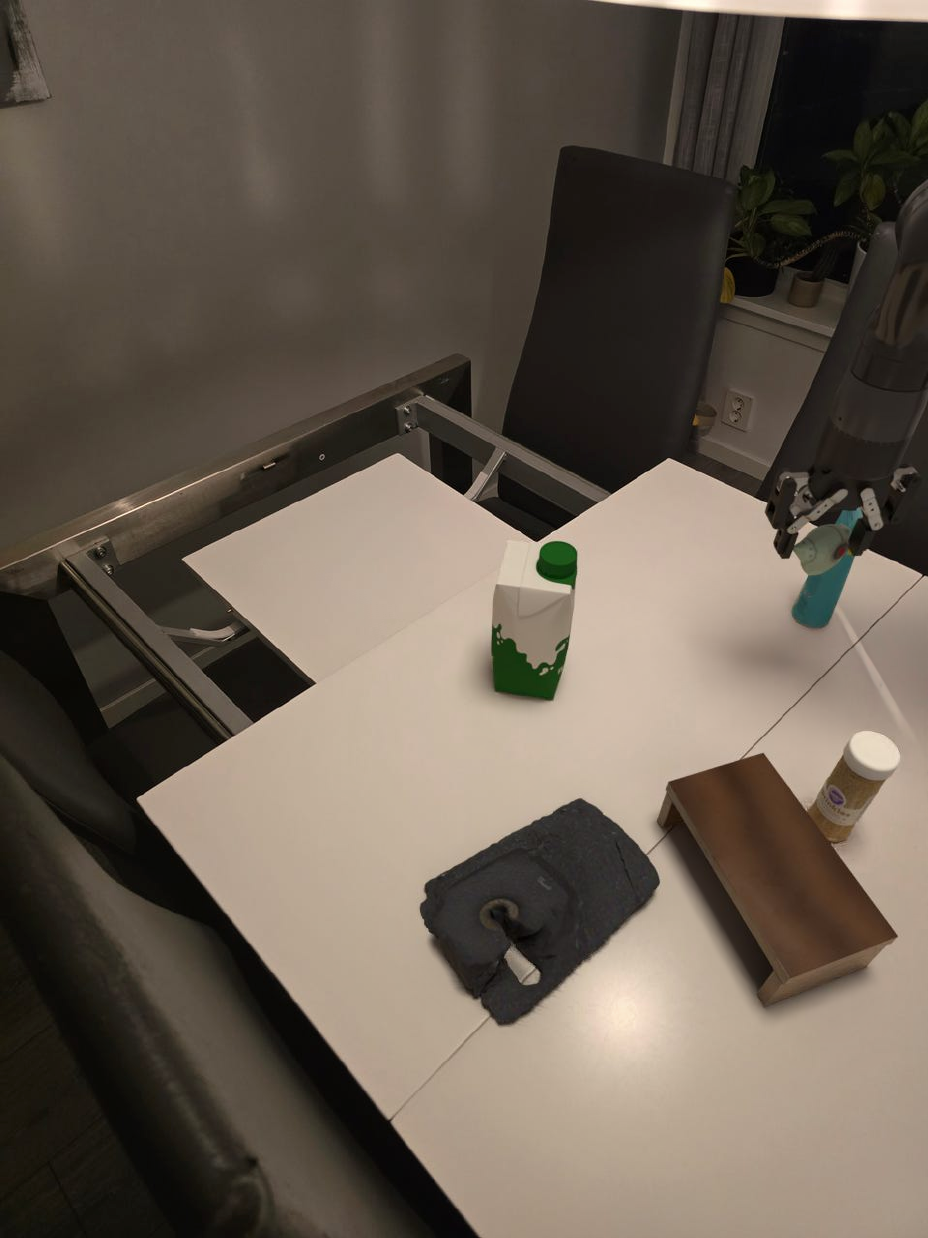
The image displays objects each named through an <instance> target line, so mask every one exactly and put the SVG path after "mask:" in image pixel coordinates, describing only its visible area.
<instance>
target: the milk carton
mask: <svg viewBox="0 0 928 1238" xmlns="http://www.w3.org/2000/svg"><path fill="white" fill-rule="evenodd" d="M578 555H579V554H578V548H577V547H575V546H574V545H573V544H571V543H569V542H566V541H563V540H562V541H561V540H552V541H548V542H546V543H542V542H539V541H529V542H528V541H521V540H514V539H507V541H506V545H505V549H504V552H503V556H502V560H501V564H500V568H499V571H498V575H497V579H496V583H495V587H494V591H493V595H492V614H491V641H490V656H491V667H492V677H493V686H494V692H496V693H497V692H498V693H504V694H509V695H515V696H516V695H517V696H520V697H521V696H523V697H529V698H534V699H542V700H547V701H554V699H555V695H556V692H557V689H558V685H559V682H560V680H561V676H562V674H563V670H564V667H565V664H566V659H567V655H568V651H569V647H570V638H571V632H572V624H573V619H574V618H573V617H574V610H575V600H576V588H577V585H576V584H577V576H578Z"/></svg>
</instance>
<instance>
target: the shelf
mask: <svg viewBox="0 0 928 1238" xmlns="http://www.w3.org/2000/svg"><path fill="white" fill-rule="evenodd" d="M662 801H663V802H662V805H661V808H660V810H659V813H658V816H657V818H656V822H657V823H658V824H659V827H660V828H661V830H666V829H668V828H671V827H675V826H678V825H681V824H684V823H685V825H686V826H687V828H688V829H689V831H690V833H691V834H692V836H693V838H694V839H695V841H696V843H697V844H698V846H699V848H700V850H701V851H702V853H703V855H704V856H705V858H706V859H707V861H708V863H709V864H710V866H711V868H712V869H713V871H714V872H715V875H716V877H717V878H718V880H719V881H720V883H721V885H722V886H723V888H724V889H725V892H727V894H728V896H729V898H730V899H731V900H732V903H733V905H734V906H735V907H736V910H738V913H739V914H740V916H741V917H742V919H743V921H744V922H745V924H746V926H747V928H748V929H749V931H750V932H751V933H752V935H753V937H754V939H755V941H756V943H757V945H758V946H759V947H760V949H761V950H762V952H763V954H764V956H765V957H766V959H767V960H768V962H769V964H770V965H771V967H772V969H773V970H772V972H771V973H770V975H769V976H768V977H767V979H766V980H765V981H764V983H763V984H762V985H761V987H760V988H759V990H758V991H757V993H756V995H757V996H758V999H759V1000H760V1002H761V1004H762V1005H763V1007H767V1006H769V1005H772V1004H775V1003H777V1002H780V1001H782V1000H785V999H787V998H790V997H791V996H795V995H797V994H800V993H802V992H806V991H808V990H810V989H813V988H816V987H818V986H821V985H823V984H825V983H828V982H831V981H833V980H835V979H838V978H841V977H843V976H845V975H848V974H851V973H854V972H856V971H858V970H861V969H863V968H866V967H868V966H869V965H870V964H871V962H872V961H874V959H875V958H876V957H877V956H878V955H879V954H880V953H881V952H882V951H883V949H885V948H886V946H889V945H892V944H893V943H894V942H895V941H896V940H897V939H898V938H899V935H898V934H897V932H896V931H895V930H894V928H893V927H892V926H891V924H890V923H889V921H888V920H887V919H886V917H885V916H884V915H883V913H882V912H881V910H880V909H879V908H878V906H877V905H876V904H875V902H874V901H873V900H872V898H871V897H870V896H869V894H868V893H867V892H866V890H865V889H864V887H863V885H861V884H860V882H859V881H858V879H857V878H856V877H855V875H854V873H852V871H851V870H850V868H849V867H848V865H847V864H846V863H845V862H844V860H843V859H842V857H841V856H840V854H839V853H838V852H837V851H836V849H835V847H834V846H833V845H832V844H831V842H830V841H828V840H827V838H826V837H825V836H824V834H823V833H822V832H821V830H820V829H819V828H818V826H817V825H816V824H815V822H814V821H813V819H812V818H811V817H810V815H809V814H808V813H807V811H808V810H806V808H805V807H804V806H803V804H802V803H801V802H800V800H799V799H798V797H797V796H796V795H795V793H794V792H793V790H792V789H791V788H790V787H789V785H788V784H787V783H786V781H785V779H783V777H782V776H781V774H780V773H779V772H778V770H777V769H776V768H775V766H774V765H773V764H772V762H771V761H770V759H769V758H768V757H767V755H766V754H765V753H764V752H760V753H757V754H755V755H750V756H748V757H744V758H742V759H738V760H734V761H731V762H728V763H725V764H721V765H718V766H715V767H712V768H709V769H706V770H703V771H699V772H696V773H692V774H689V775H686V776H683V777H680V778H676V779H673V780H670V781H667V784H666V788H665V794H664V798H663V800H662Z"/></svg>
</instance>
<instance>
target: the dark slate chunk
mask: <svg viewBox="0 0 928 1238" xmlns="http://www.w3.org/2000/svg"><path fill="white" fill-rule="evenodd" d="M660 884H661V880H660V875H659V873H658V871H657V869H656V866H654V864H653V863H652V862H651V860H650V857H649V856H648V855H647V854H646V853H645V852H644V851H643V850H642V849H641V847H640V846H639V844H638V843H637V842H636V841H635V840H634V839H633V838H631V836H630V835H629V834H628V833H627V832H626V831H625V830H624V829H623V828H622V827H621V826H620V825H619V824H618V823H617V822H616V821H614V820H613V819H611V818H610V817H609V816H607V815H605V814H604V812H603V811H602V810H601V809H600V808H599V807H598V806H596V805H594V804H592V803H590V802H588V801H587V800H586V799H584V798H581V797H579V798H576V799H574V800H572V801H569V803H566V804H563V805H561V806H559V807H558V808H556V809H555V810H553V812H552V813H550V814H548V815H544V816H541V817H540V818H539V819H535V820H533V821H532V822H531V823H530V824H527V825H525V826H523V827H521V828H519V829H518V830H514V831H513V832H511V833H510V834H508V835H506V836H504V837H502V838H501V839H500V840H498V841H497V842H494V843H493V842H492V843H491V844H490V845H489V846H488V847H486V848H484V849H482V850H479V851H478V852H477V853H475V854H473V855H472V856H470V857H468V858H466V859H465V860H464V861H462V862H460V863H458V864H455V865H454V866H452V867H451V868H450V869H447V870H445V871H443V872H442V873H440V874H438V875H437V876H436V877H434V878H430V879H429V880H428V881H427V882H426V883H424V890H425V891H426V898H425V899H424V900H423V901H422V902H420V903H419V905H420V907H419V909H420V913H421V916H422V917H423V922H424V925H425V926H426V927H427V928H428V932H429V933H431V934H433V935H434V936H435V938H436V939H438V940H439V944H440V947H441V949H442V951H443V954H444V956H445V958H446V960H447V961H448V963H449V964H450V965H451V967H452V969H453V970H454V971H455V973H457V976H459V978H460V980H461V981H462V983H463V984H464V986H465V987H466V989H469V990H472V991H473V995H474V996H475V997H478V996H480V995H481V996H480V997H481V1000H482V1003H483V1006H485V1007H489V1009H490V1012H491V1014H493V1015H494V1016H496V1019H497V1021H498V1022H500V1023H505V1022H513V1021H515V1020H517V1019H518V1018H519V1017H520V1016H521V1014H523V1013H525V1012H527V1011H528V1010H530V1009H531V1008H533V1007H534V1006H535V1005H536V1003H538V1001H539V1000H540V999H542V998H543V997H544V996H545V995H546V994H547V993H548V992H550V991H552V990H553V989H554V988H555V986H557V985H558V984H559V983H561V982H562V981H563V980H564V979H565V978H566V977H568V974H569V973H571V972H573V971H574V970H575V968H577V967H578V966H579V964H580V963H581V962H583V961H584V960H585V958H586V956H588V955H590V954H593V953H594V951H595V950H596V948H598V947H599V946H600V945H601V944H603V943H604V942H606V941H607V940H608V939H609V938H610V937H611V935H612V933H614V931H615V928H617V927H619V926H621V924H623V922H624V921H625V920H626V918H627V917H629V916H630V915H631V914H632V913H633V912H634V911H635V909H636V908H637V907H638V906H640V904H642V903H644V902H645V903H646V902H647V901H648V900H649V899H650V898H652V896H653V895H654V892H655V891H656V890H657V889H658V887H659V886H660ZM507 936H510V937H512V938H514V941H515V946H516V947H517V948H518V950H519V951H520V952H521V953H522V954H524V956H526V957H527V958H528V959H529V961H531V962H532V963H533V964H534V965H535V966H536V967H537V968H538V969H539V970H540V972H541V974H540V978H539V980H538V982H536V983H531V984H530V983H529V984H523V983H522V982H521V981H520V979H519V977H518V976H517V975H516V973H515V972H514V971H513V970H512V968H511V967H510V966H509V962H508V960H507V958H505V955H507V953H508V951H509V950H510V948H511V946H512V943H511V942H510V940H509V939H508V938H507Z"/></svg>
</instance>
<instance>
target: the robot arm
mask: <svg viewBox="0 0 928 1238" xmlns="http://www.w3.org/2000/svg"><path fill="white" fill-rule="evenodd" d="M894 234H895V235H894V236H895V242H896V248H897V256H896V260H895V263H894V267H893V270H892V273H891V275H890V278H889V281H888V283H887V286H886V289H885V291H884V294H883V296H882V299H881V301H880V303H879V304H877V305H876V306H875V307H874V308H873V309H872V310H871V311H870V313H869V315H868V317H867V319H866V321H865V322H864V325H863V327H862V329H861V332H860V335H859V337H858V340H857V343H856V346H855V349H854V350H853V351H854V352H853V354H852V357H851V360H850V363H849V365H848V367H847V370H846V372H845V373H844V376H843V377H842V379H841V381H840V383H839V385H838V388H837V391H836V392H835V396H834V398H833V401H832V403H831V405H830V409H829V412H828V415H827V417H826V420H825V423H824V426H823V429H822V432H821V435H820V437H819V440H818V443H817V445H816V450H815V456H814V460H813V462H812V464H811V465H810V466H809V467H808V468H807V469H806V471H800V472H791V471H790V470H789V468H788V467H781V468H778V470H777V471H776V474H775V477H774V481H773V483H772V487H771V490H770V492H769V497H768V500H767V503H766V506H765V509H764V514H765V516H766V518H767V520H768V522H769V524H770V525H771V528H772V529H774V530H776V533H775V536H774V538H773V542H772V544H773V548H774V549H775V551H776V553H777V555H779V557H780V559H781V560H789V559H790V558H791V556H792V554H793V552H794V551H793V548H794V545H796V544H797V543H796V542H797V539H798V538H799V534H800V533H799V531H800V530H801V529H802V528H803V527H804V526H806V525H807V524H809V522H815V521H817V520H818V519H819V518H820V517H821V516H822V515H824V514H825V513H829V512H830V513H833V512H837V511H843V510H846V511H856V510H857V508H860V510H861V513H862V515H863V517H862V518H858V519H857V521H856V524H855V526H854V528H853V531H852V533H851V535H850V538H849V540H848V543H849V544H848V549H849V550H850V552H851V554H852V555H853V556H855V557H861V556H863V554H864V552H866V551H868V549H869V548H870V547H871V545H872V543H873V540H874V539H875V535H876V533H877V531H879V530H881V529H882V528H883V527H884V526H885V525H887V524H891V525H892V526H897V525H900V524H901V523H902V521H903V519H904V518H905V516H906V514H907V512H908V510H909V508H910V506H911V504H912V502H913V501H914V498H915V496H916V494H917V492H918V490H919V488H920V485H921V484H922V483H923V478H922V477H921V476H920V474H919V472H918V471H917V470H916V469H915V468H914V467H913V465H912V464H911V463H909V462H904V463H903V464H901V462H902V459H904V455H905V453H906V452H907V449H908V447H909V444H910V442H911V439H912V438H913V436H914V433H915V431H916V428H917V426H918V424H919V422H920V419H921V418H922V415H923V413H924V411H925V408H926V406H927V403H928V179H926V180H925V181H924V182H923V183H921V184H920V185H919V186H918V187H916V188H915V189H914V190H913V191H912V192H911V193H910V195H909V196H908V197H907V198H906V199H905V201H904V202H903V203H902V205H901V207H900V209H899V211H898V214H897V216H896V220H895V226H894ZM900 464H901V465H900ZM804 486H805V487H804ZM888 487H889V488H888ZM886 488H888V491H887V493H886V495H885V496H884V499H883V501H882V503H881V506H879V504H878V501H877V497H876V496H877V495H879V494H880V493H882V492H883V491H884V490H885V489H886ZM812 498H813V499H814V501H815V504H814V505H812V504H811V499H812Z"/></svg>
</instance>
